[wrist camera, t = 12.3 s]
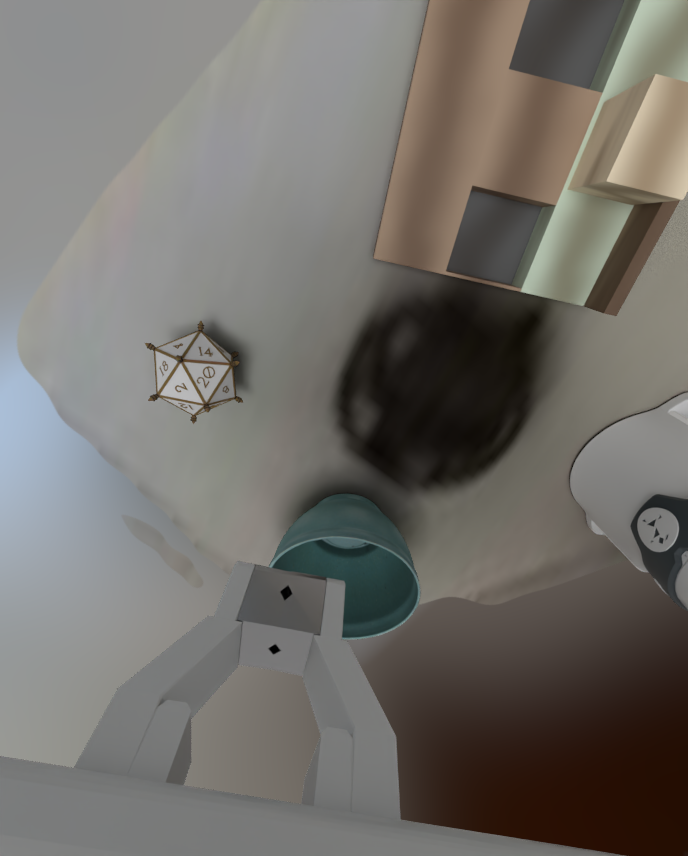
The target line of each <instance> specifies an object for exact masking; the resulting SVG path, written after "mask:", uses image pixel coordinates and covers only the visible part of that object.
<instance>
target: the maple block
mask: <svg viewBox="0 0 688 856" xmlns="http://www.w3.org/2000/svg"><path fill="white" fill-rule="evenodd" d="M568 190H572V191H576V192H580V193H584V194H588V195H592V196H596V197H600V198H605V199H609V200H613V201H617V202H621V203H625V204H629V205H637V204H648V203H658V202H668V201H678V200H683V199H684V197H685V195H686V193H687V191H688V82H685V81H681V80H677V79H673V78H670V77H666V76H662V75H658V74H654V75H653V76H651V77H649V78H647V79H645V80H644V81H642V82H640V83H638V84H636V85H634V86H633V87H631V88H629V89H627V90H625V91H623V92H622V93H620V94H618V95H616V96H614V97H612V98H611V99H609V100H607V101H605V102H604V103H603V106H602V108H601V111H600V113H599V115H598V118H597V120H596V122H595V125H594V127H593V130H592V132H591V134H590V137H589V139H588V141H587V144H586V146H585V149H584V151H583V153H582V156H581V158H580V161H579V163H578V165H577V168H576V170H575V172H574V175H573V177H572V180H571V182H570V184H569V187H568Z"/></svg>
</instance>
